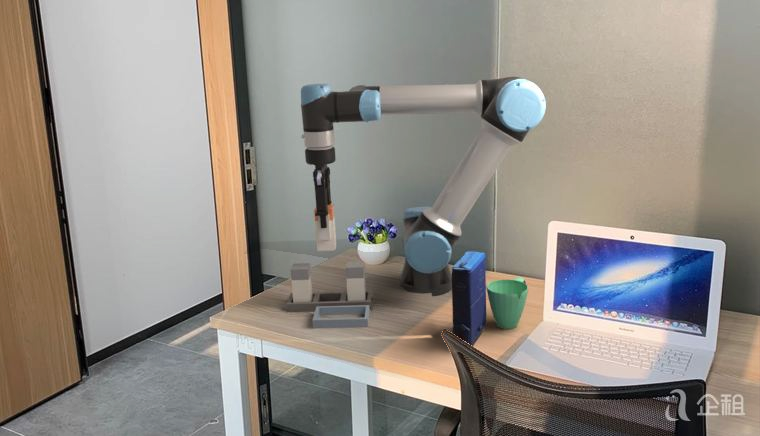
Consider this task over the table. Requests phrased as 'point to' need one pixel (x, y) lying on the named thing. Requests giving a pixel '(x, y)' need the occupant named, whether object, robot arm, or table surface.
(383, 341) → the table surface
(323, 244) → the block
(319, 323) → the tray
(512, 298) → the mug
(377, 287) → the table surface
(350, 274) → the block
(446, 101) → the robot arm
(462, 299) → the book
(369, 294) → the block
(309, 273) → the block
